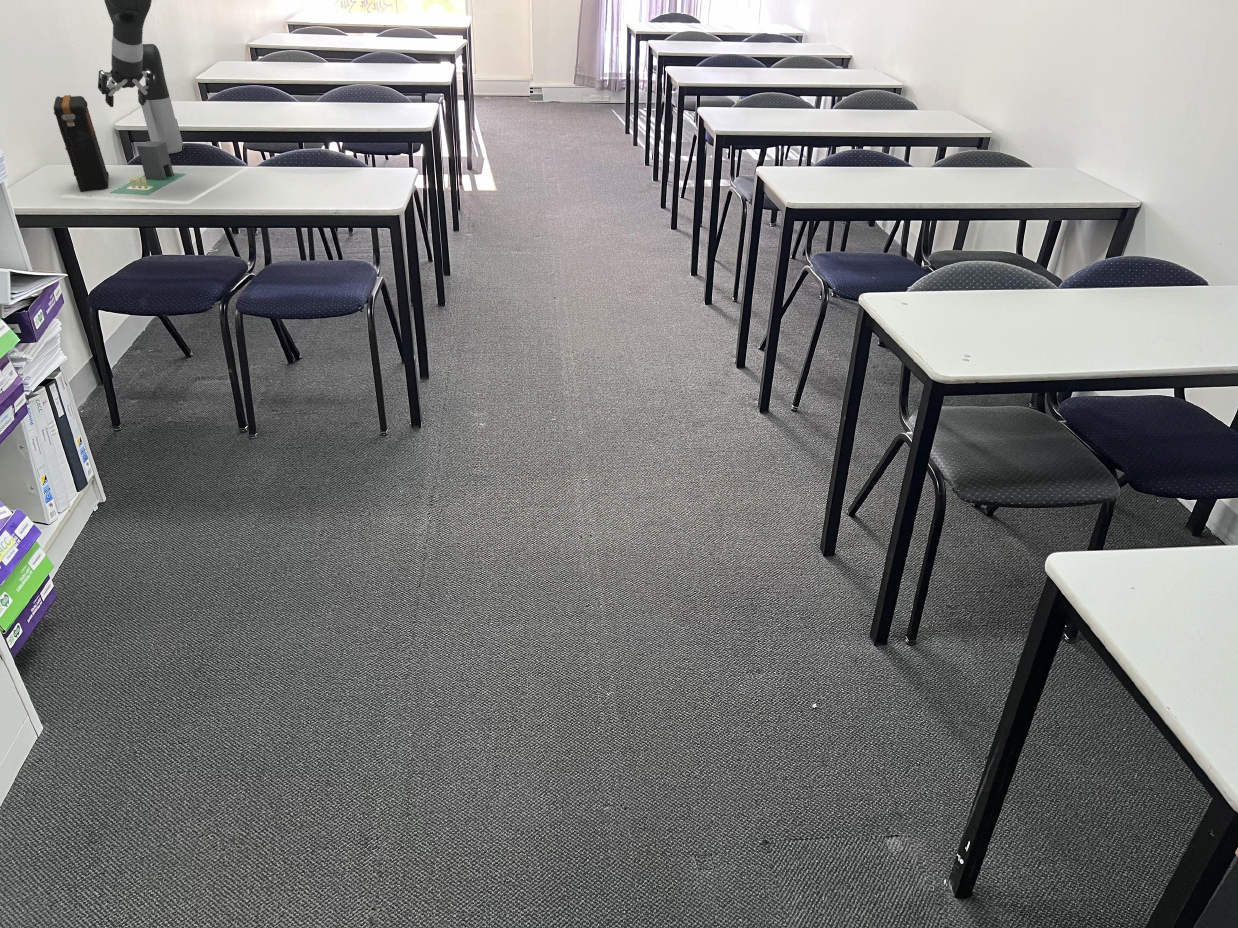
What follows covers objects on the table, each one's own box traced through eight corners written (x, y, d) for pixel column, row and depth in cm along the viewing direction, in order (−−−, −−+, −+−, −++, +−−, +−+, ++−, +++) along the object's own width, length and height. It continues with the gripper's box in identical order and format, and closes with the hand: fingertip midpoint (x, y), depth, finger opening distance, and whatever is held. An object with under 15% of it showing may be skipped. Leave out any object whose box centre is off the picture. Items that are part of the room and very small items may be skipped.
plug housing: (156, 174, 279) (147, 141, 274) (174, 175, 279) (165, 142, 273) (146, 179, 275) (136, 146, 269) (164, 180, 274) (155, 147, 269)
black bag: (79, 181, 275) (51, 95, 261) (110, 178, 278) (85, 93, 265) (77, 196, 264) (48, 107, 250) (110, 192, 267) (83, 104, 253)
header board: (151, 175, 282) (148, 162, 280) (187, 177, 281) (184, 164, 279) (110, 196, 264) (106, 182, 262) (148, 198, 263) (144, 185, 260)
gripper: (147, 44, 252) (144, 95, 264) (93, 45, 243) (93, 97, 254) (160, 61, 250) (157, 111, 261) (106, 62, 241) (105, 114, 252)
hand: (125, 104), depth 258 cm, fingers open, 8 cm apart
